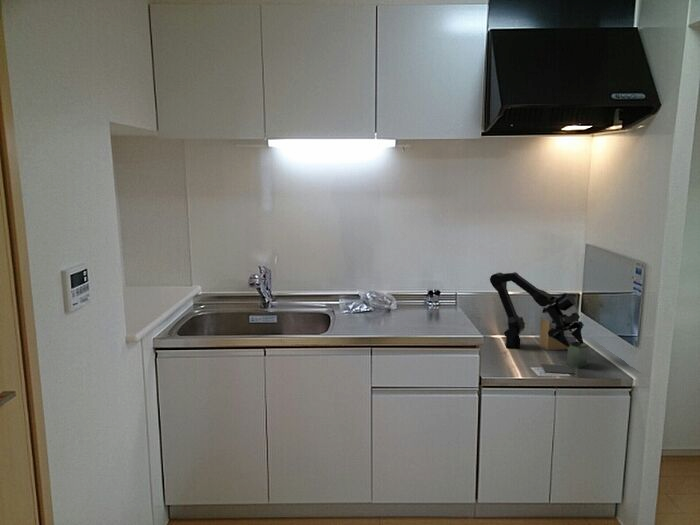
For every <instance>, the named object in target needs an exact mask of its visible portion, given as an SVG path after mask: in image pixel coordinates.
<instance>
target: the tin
mask: <svg viewBox="0 0 700 525" xmlns="http://www.w3.org/2000/svg"><path fill="white" fill-rule="evenodd" d="M569 345H570V346H569V347H568V349H567V355H566V365H568V366H569V367H570V366H571V367H573V368H575V369H581V368H584V367H588V355H589V345H588V344H586V343H584V342H583V343H580V342H579V341H573V342H569Z"/></svg>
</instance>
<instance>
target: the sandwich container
mask: <svg viewBox="0 0 700 525" xmlns="http://www.w3.org/2000/svg"><path fill="white" fill-rule="evenodd" d="M539 326H540V327H539V338H538V339H539V341H538V342H539V344H538V345H539V346H540V347H542V348H543V349H545V350H547V351H557V350H558V351H560V350H568V347H567V346H565V345H564V344H562V343H561V342H559V341H558V340H556V339H554V338H552V337H549V335H548V331H549V330H550V329H551V328H553V327H554V324H552V322H550V321H549V320H547V319H545V318H543V317H540V322H539ZM568 343H570V341H568Z"/></svg>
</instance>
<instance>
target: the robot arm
mask: <svg viewBox="0 0 700 525" xmlns="http://www.w3.org/2000/svg"><path fill="white" fill-rule="evenodd" d="M489 282H490V284H491V286H492V287H493V288H494V290H495V291H496V292H497V294H498V296H499V299H500V301H501V303H502V306H503V309H504V312H505V314H506V316H507V327H508V329H506V330H505V331H503V334H504V337H505V343H504V346H505V348H506V349H517V350H519V349H520V347H521V338H520V335H521V333H522V332H523V331H524V330H525V327H526V326H525V325H526V322H525V321H524V318H523V316H519V315H518V314H517V312H516V309H515V307H514V304H513V301H512V299H511V297H510V294H509V290H508V287H507V286H508V285H507V284H508V282H512V283H513V284H515V285H517V287H518V288H520V289H522V290H523V291H524V292H526V293H527V294H529V295H530V296H531V297H532V299H533V301H534V302H535V303H536V304H538V306H540V307H542V308H543V309H542V314H548V316H549V317H550V319H551V320H552V321H551V324H552V325H553V326H554V325H555V326H554V327H553V328H551V329H550V330H549V331H548V335H549V337H552V338H554V339H556V340H558V341H559V342H561V343H562V344H564V345H565V346H567V347H569V346H570V345H569V343H570V342H569V341H568V339H567V338H566V335H565V332H566V331H569V332H570V335H572V336H573V337H574V338H575V339H576V340H577V342H580V343H583V344H584V340H583V335H582V329H583V328H584V326H585V325H584V323H583V321H580V319H581V318H580V314H578V312H572V313H571V315H567V314H566V313H565V314H564V313H563V311H565V312H566V311H567V310H569V309H571V308H572V307H574V306H575V305H576V300H575V299H574V298H573V297H572V296H571V295H570V294H568V293H567V292H565V293H563V294H562V295H561V296H559V297H556V296H553V295H552V294H551V293H549V292H547V291H545V290H543V289H540V288H538V287H536V286H535V285H533V284H532V283H531V282H529V281H528V280H526V279H525V278H524V277H523V276H521V275H520V274H519V273H518V272H515V271H514V272H508V273H503V272H500V271H499V272H496V273H493V274H492V275H491V276H490V277H489ZM568 342H569V343H568Z"/></svg>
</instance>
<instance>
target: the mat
mask: <svg viewBox="0 0 700 525" xmlns="http://www.w3.org/2000/svg"><path fill="white" fill-rule="evenodd" d="M540 366H541V367H542V369H543V371H544V373H549V374H563V375H574V374H575V373H574V371H573V369H572V368H571V367H570V365H568V364H550V363H549V364H547V363H541V364H540Z"/></svg>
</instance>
